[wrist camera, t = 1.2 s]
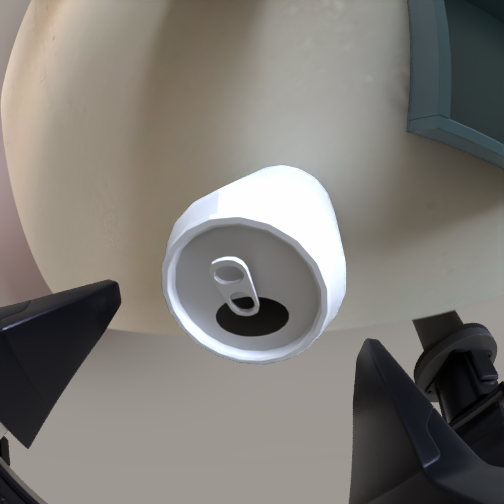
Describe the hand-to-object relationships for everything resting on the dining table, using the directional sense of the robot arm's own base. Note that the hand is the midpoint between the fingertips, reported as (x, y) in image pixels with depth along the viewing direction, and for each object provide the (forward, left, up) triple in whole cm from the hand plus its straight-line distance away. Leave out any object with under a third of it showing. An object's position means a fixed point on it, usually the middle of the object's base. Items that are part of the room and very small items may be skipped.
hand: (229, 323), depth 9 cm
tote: (+16, -16, -13) cm, 26 cm away
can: (0, 0, -13) cm, 13 cm away
